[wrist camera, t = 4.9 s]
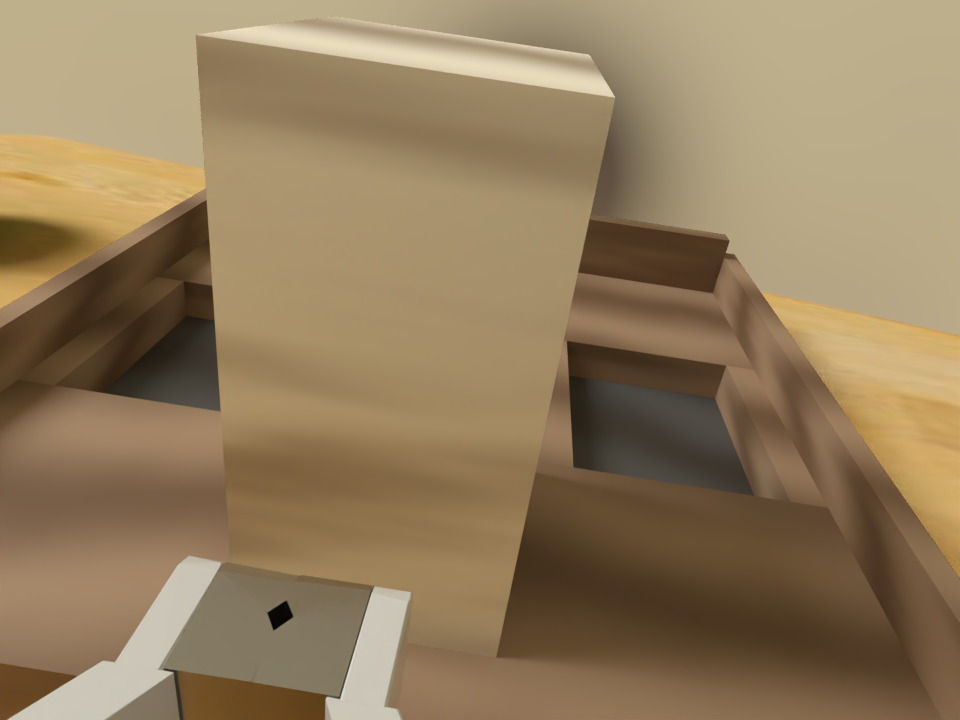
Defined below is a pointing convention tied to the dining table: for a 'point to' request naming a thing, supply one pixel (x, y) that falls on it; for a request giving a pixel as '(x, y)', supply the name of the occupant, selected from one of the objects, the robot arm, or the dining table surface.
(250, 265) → the birch block
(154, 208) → the dining table surface
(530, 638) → the tray
